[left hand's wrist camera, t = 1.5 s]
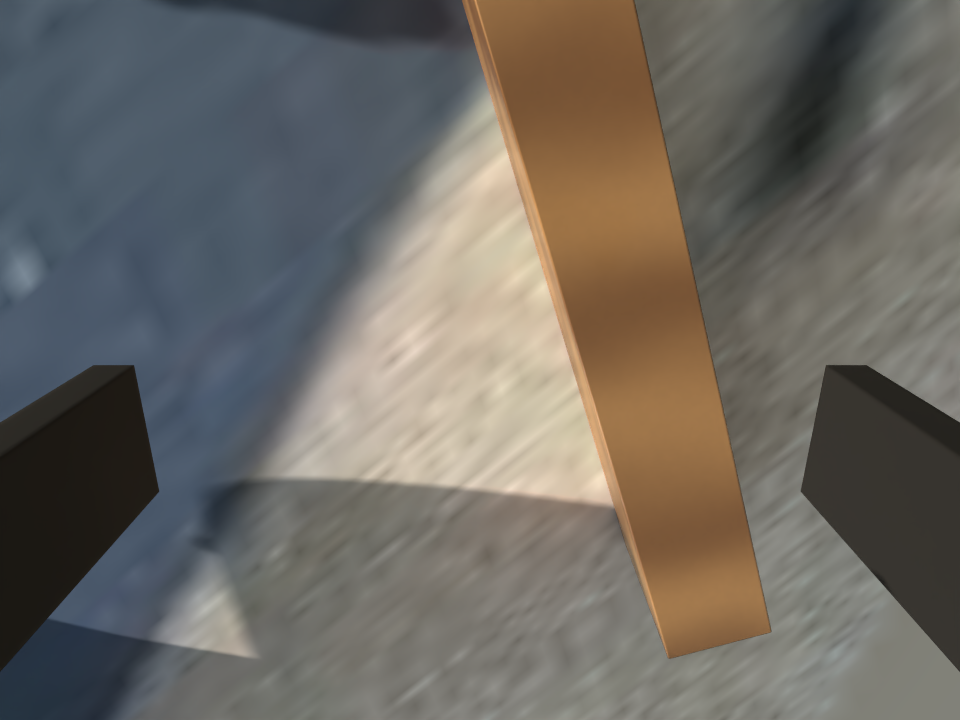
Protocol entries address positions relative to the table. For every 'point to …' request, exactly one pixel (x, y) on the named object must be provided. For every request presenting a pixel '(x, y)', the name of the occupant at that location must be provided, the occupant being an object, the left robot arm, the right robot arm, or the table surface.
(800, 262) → the table surface
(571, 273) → the beam
